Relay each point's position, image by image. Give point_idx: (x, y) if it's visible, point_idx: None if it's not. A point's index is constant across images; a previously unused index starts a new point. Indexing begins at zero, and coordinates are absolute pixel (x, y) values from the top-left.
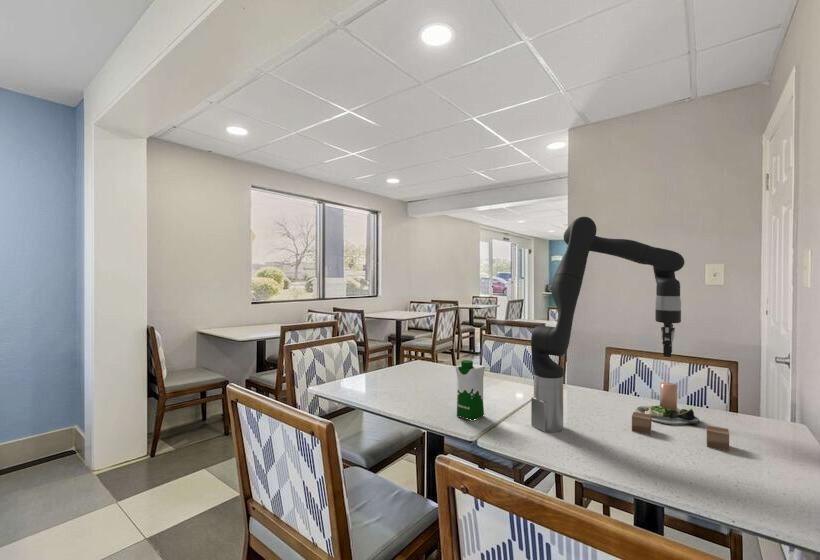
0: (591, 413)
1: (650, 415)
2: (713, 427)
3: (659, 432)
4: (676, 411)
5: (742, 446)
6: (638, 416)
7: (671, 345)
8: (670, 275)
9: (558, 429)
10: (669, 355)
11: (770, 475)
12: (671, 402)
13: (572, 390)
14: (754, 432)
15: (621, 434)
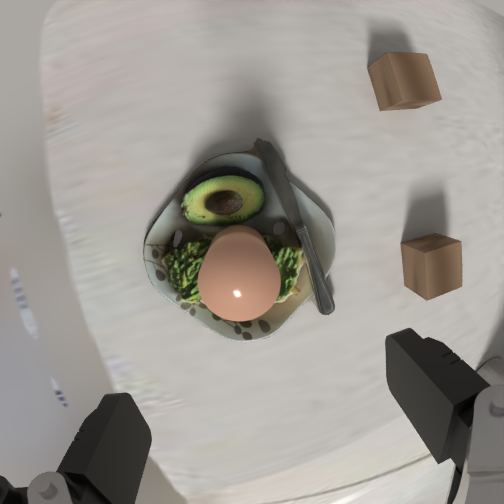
0: (372, 391)
1: (432, 252)
2: (408, 84)
3: (405, 220)
4: (165, 241)
5: (344, 41)
6: (457, 272)
7: (97, 453)
8: None
9: (500, 359)
10: (429, 337)
11: (448, 22)
12: (264, 241)
13: (211, 483)
14: (191, 31)
15: (465, 280)
